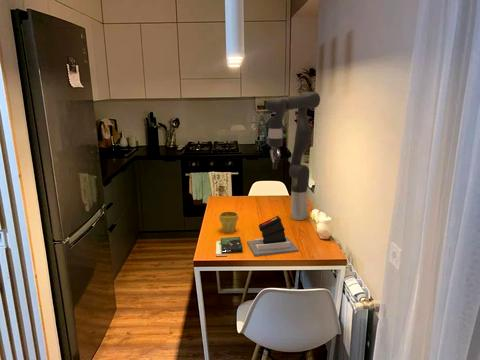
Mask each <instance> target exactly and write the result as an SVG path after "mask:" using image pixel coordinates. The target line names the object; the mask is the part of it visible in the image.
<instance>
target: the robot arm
mask: <svg viewBox="0 0 480 360" xmlns="http://www.w3.org/2000/svg"><path fill="white" fill-rule="evenodd" d="M320 103H321V96H320V94H319V93H318V92H315V91H302V92H301V93H300V94H299V95H296V96H295V95H292V96H291V95H290V96H283V97H270V98H269V99H267V101H265V109H266V111H268V112H271V113H275V114H274V115H273V116H271V117H269V119H268V135H267V136H268V138H267V140H268V141H267V146H269V147H270V148H271V149H270V150H269V154H270V160H271V161H272V169H273V170H278V166H279V165H278V163H279V162H280V159H281V156H282V153H281V150H280V147H282V146H283V139H284V138H283V136H284V134H283V120H284V117H285V112H286V111H291V110H295V109H297V121H296V127H295V129H296V130H295V133H294V134H295V135H294V136H295V137H294V143H293V144H294V145H293V151H292V156H291V160H290V165H289V169H288V171H289V172H288V174H289V176H290V178H291V179H293V180H296V181H297V182H296V184H293V185H292V186H291V193H290V194H291V195H290V197H291V198H290V199H291V201H290V205H291V206H290V218H291V220H295V221H303V220H307V219H308V209H309V206H308V205H309V204H308V201H307V200H308V197H307V196H308V188H309V185H310V168H309V167H308V166H307V165H305V164H302V159H303V158H302V157H303V155H304V154H305V152H306V151H307V149H308V148H309V146H310V144H311V140H312V134H313V133H312V132H313V131H312V128H311V125H310V122H309V120H308V115H307V114H308V113H307V112H308V109H316V108H317V107H319V105H320Z"/></svg>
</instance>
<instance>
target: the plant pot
mask: <svg viewBox="0 0 480 360" xmlns="http://www.w3.org/2000/svg"><path fill="white" fill-rule="evenodd" d="M218 216H219V221H220V223H221V227H222V231H223V233H227V234H228V233H229V234H230V233H233V232H235V231H236V227H237V222H238V221H239V213H238V212H236V211H233V210H232V211H231V210H227V211H222V212H220V213H219V215H218Z"/></svg>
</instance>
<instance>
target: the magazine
mask: <svg viewBox="0 0 480 360" xmlns="http://www.w3.org/2000/svg"><path fill="white" fill-rule="evenodd" d="M258 229H259V231H260V232H261V236H262V238H263V243H264V244H271V243H281V242H285V241H286V238H285V237H286V233H285V229H286V228H285V227H284V225H283V222H282V219H281V218H280V216H279V215H275V216H274V217H272V218H270V219H267V220H265V221H263V222H262V223H260V224H258Z"/></svg>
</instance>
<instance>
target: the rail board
mask: <svg viewBox="0 0 480 360" xmlns="http://www.w3.org/2000/svg"><path fill="white" fill-rule="evenodd" d="M285 238H286V241H285V242H281V243H271V244H264V243H263V237H262V238H255V239H254V240H247V242H246V243H247V245H248V247H249V249H250V250H251V252H252V254H253V256H254V257H263V256H270V255H282V254H289V253H299V248H298V247H297V245H295V244H294V242H293V241H292V240H291V239H290V238H289V237H288V236H285Z"/></svg>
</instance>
